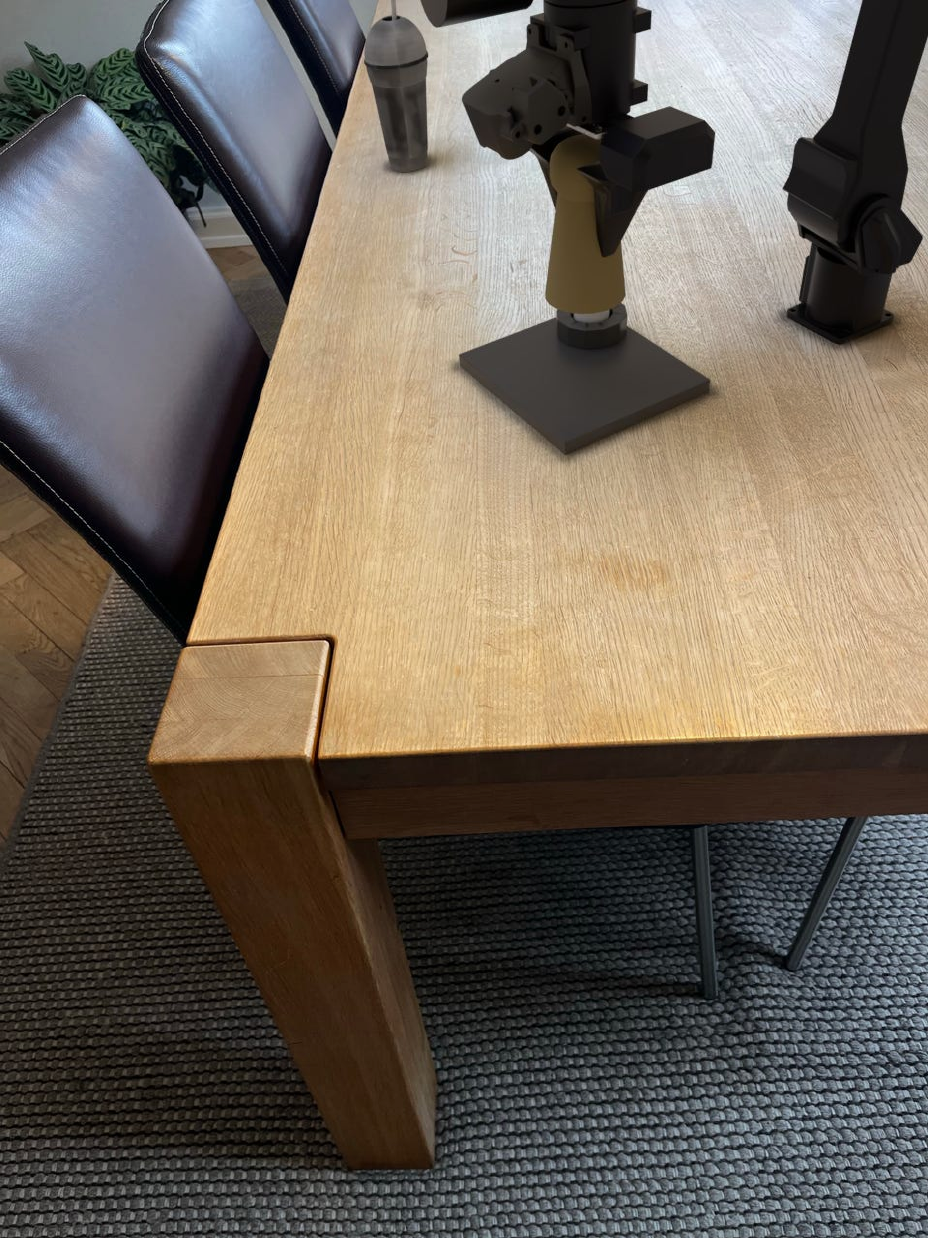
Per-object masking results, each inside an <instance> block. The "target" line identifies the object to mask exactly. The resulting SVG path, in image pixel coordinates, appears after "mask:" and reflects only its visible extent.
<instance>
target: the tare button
mask: <svg viewBox="0 0 928 1238" xmlns="http://www.w3.org/2000/svg"><path fill="white" fill-rule="evenodd" d="M608 318H609V310H607V311H603V312H599V313H594V314H575V313H574V319H575V320H576V321H579V322H584V323H598V322H601V321H604V320H606V319H608Z"/></svg>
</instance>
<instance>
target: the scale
mask: <svg viewBox="0 0 928 1238" xmlns="http://www.w3.org/2000/svg"><path fill="white" fill-rule="evenodd" d="M458 360H459V366H460V368H462V369H463V370H464V371H465V372H466V373H468V374H469V376H471V377H472V378H474V380H476V381H477V382H479V384H480V385H481V386H483V387H484V388H485V389H486V390H488V392H490V393H491V394H492V395H494V396H495V397H496V398H497V399H498V400H500V402H502V404H504V405H505V406H506V407H507V408H509V409H510V410H511V411H512V412H514V413H515V414H516V415H517V416H518V417H519V418H521V419H522V420H523V421H524V422H526V424H528V425H529V426H530V427H531V428H533V429H534V430H535V431H536V432H537V433H539V434H540V435H541V436H542V437H543V438H544V439H545V440H546V441H548V442H549V443H550V444H551V445H553V446H554V447H555V448H556V449H557V450H559V451H560V452H561V453H562V454H563V455H564V456H566V455H568V454H571V453H573V452H575V451H577V450H580V449H582V448H584V447H587V446H590V445H592V444H594V443H596V442H598V441H600V440H603V439H605V438H607V437H610V436H612V435H614V434H617V433H619V432H621V431H623V430H626V429H628V428H630V427H632V426H635V425H637V424H640V423H642V422H644V421H646V420H649V419H651V418H653V417H656V416H658V415H660V414H663V413H664V412H667V411H670V410H672V409H674V408H676V407H678V406H680V405H683V404H685V403H688V402H689V401H692V400H694V399H696V398H699V397H701V396H703V395H705V394H708V393H709V392H710V386H711V379H710V378H708V377H707V376H705V375H704V374H702V373H701V372H699V371H697V370H696V369H695V368H693V367H692V366H690V365H688V364H687V363H685V362H684V361H682V360H681V359H680V358H678V357H676V356H675V355H673V354H671V353H670V352H669V351H667V350H665V349H664V348H663V347H661V346H659V345H658V344H656V343H655V342H653V341H651V340H650V339H649V338H647V337H646V336H644V335H643V334H641V333H639V332H638V331H636V330H635V329H633V328H632V327H630V326H629V325H628V311H627V307H626V305H625V304H624V303H623V302H621V303H620V304H619V305H617V306H616V307H614V308H612V309H609V318H608V319H606V320H604V321H601V322H598V323H584V322H579V321H576V320H575V319H574V313H567V312H564V311H561V310H558V309H556V311H555V317H551V318H550V319H548V320H544V321H542V322H539V323H537V324H534V325H532V326H528V327H527V328H524V329H521V330H519V331H515V332H514V333H511V334H508V335H506V336H503V337H501V338H498V339H495V340H493V341H490V342H487V343H485V344H483V345H480V346H477V347H475V348H471V349H470V350H467V351H464V352H462V353H459V354H458Z"/></svg>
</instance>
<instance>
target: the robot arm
mask: <svg viewBox="0 0 928 1238" xmlns="http://www.w3.org/2000/svg"><path fill="white" fill-rule="evenodd" d="M542 1H543V4H542V5H543V6H542V7H543V8H542V9H543V12H540V13H536V14H534V15H533V14H532V15H530V16H529V23H528V24H527V25H526V29H525V31H526V44H525V49H523V50H522V51H521V52H518V53H517V54H516V55H514V56H512V57H510V58H508V59H505V60H504V61H503V62H501V63H500V64H499V65H498V66H496V67H495V68H493V69H490V70H489V72H488V74H486V75H485V76H483V77H482V78H481V79H480V80H478V81H477V82H476V83H474V84H473V85H472V86H471V87H469V88H468V89H467V90H466V91H464V93H463V94H462V96H461V103H462V104H463V108H464V109H465V112H466V115H467V117H468V119H469V122H470V124H471V126H472V130H473V132H474V134H475V136H476V137H475V138H476V140H477V141H478V144H479V146H480V147H482V148H484V149H486V148H487V149H490V151H493V152H495V153H497V154H498V155H499V156H500V158H502V159H504V160H508V161H514V160H516V159H519V158H522V157H523V156H524V155H526V154H527V153H529V152H530V153H531V154H532V155H534V156H535V158H536V159H537V161H538V164H539V166H540V169H541V171H542V172H541V173H542V175H543V177H544V181H545V183H546V187H547V188H548V192H549V195H550V198H551V201H552V204H553V208H554V211H555V210H556V202H557V194H558V193H557V191H556V190H555V188H554V187H553V186H552V183H551V179H550V159H551V155H552V153H553V151H554V149H555V147H556V146H557V145H558V144H559V143H560V142H562V141H563V140H565V139H567V138H569V137H572V136H576V135H581V134H585V135H588V136H590V137H592V138H594V139H600V140H602V141H601V143H600V161H598V162H595V163H592V164H588V165H585V166H582V167H579V168H577V171H578V172H579V173H580V174H581V175H582V176H583V177H584V178H585V179H586V180H587V181H588V182H589V183H590V184H591V185H592V186H593V188H594V200H595V215H596V230H597V239H598V243H599V247H600V251H601V255H602V257H604V258H605V257H608V256H610V255H613V254H614V253H615V252H616V250H617V248H618V246H619V244H620V242H621V243H622V240H623V238H624V236H625V235H626V233H627V231H628V229H629V227H630V225H631V223H632V221H633V219H634V217H635V215H636V213H637V211H638V209H639V208H640V205H641V204H642V202H643V200H644V198H645V197H646V195H647V194H648V192H649V191H650V190H653V189H657V188H659V187H662V186H665V185H668V184H670V183H673V182H676V181H680V180H682V179H685V178H688V177H691V176H694V175H696V174H699V173H702V172H705V171H708V170H711V169H712V167H713V162H714V151H715V143H716V142H715V141H716V131H715V130H714V129H713V128H712V127H711V125H710V124H709V123H708V122H707V121H706V120H705V119H703V118H701V117H698V116H696V115H693V114H691V113H688V112H685V111H683V110H681V109H678V108H675V107H673V106H671V105H669V106H666V107H662V108H659V109H656V110H653V111H649V112H647V113H644V114H640V115H637V116H632V115H630V114H629V113H630V112H631V109H632V106H637V105H639V104H643V103H646V102H648V99H649V96H648V95H649V83H647V82H644V81H641V80H638V79H636V77H635V76H636V53H637V34H639V33H643V32H646V31H650V30H651V29H652V16H653V12H652V11H653V10H651V9H648V8H645V7H642V6H638V0H542ZM533 2H534V0H420V4H421V6H422V9H423V12H424V14H425V16H426V18H427V20H428V21H429V23H430V24H431V25H432V26H433V27H434V28H436V29H437V28H443V27H449V26H452V25H457V24H462V23H467V22H472V21H477V20H481V19H487V18H492V17H496V16H501V15H506V14H510V13H514V12H519V11H520V12H521V11H524V10H528V8H530V7H531V6H532V4H533ZM927 42H928V0H861V4H860V8H859V12H858V15H857V20H856V24H855V27H854V30H853V34H852V38H851V43H850V46H849V49H848V54H847V57H846V61H845V65H844V70H843V74H842V77H841V80H840V84H839V88H838V91H837V96H836V101H835V104H834V108H833V110H832V112H831V115H830V117H828V119H827V120H826V121H825V123H824V124H823V125H822V126H820V128H819V130H817V132H816V133H815V134H814V136H813V137H806V136H805V137H804V136H800V137H799V138H798V139H797V140H796V142H795V144H794V147H793V154H792V162H791V167H790V170H789V174H788V177H787V178H786V181H785V182H784V184H783V186H782V190H783V191H784V192H786V193H787V200H786V205H787V206H786V207H787V211H788V212H789V213H790V216H791V218H793V220H794V221H795V222H796V225H797V231H798V236H799V237H800V238H802V239H803V240H807V241H808V242H810V243H811V244H810V249H809V254H808V255H807V256H806V257H805V259H804V260H805V261H804V266H803V273H802V277H801V283H800V288H799V295H798V301H799V302H800V303H798V304H796V305H793V306H791V307H789V308H787V309H786V314H785V315H786V316H787V317H788V318H790V319H792V320H793V321H794V322H797V323H799V324H800V325H802V326H804V327H806V328H808V329H809V330H811V331H812V332H813V331H814V332H816V333H817V334H819V335H820V336H823V337H824V338H826V339H828V340H830V341H832V342H833V343H835V344H844V343H847V342H849V341H851V340H854V339H856V338H858V337H860V336H862V335H864V334H867V333H869V332H871V331H874V330H876V329H879V328H881V327H884V326H886V325H887V324H890V323H892V322H893V321H894V319H895V314H894V313H893V312H891V311H889V310H887V309H885V306H886V302H887V299H888V294H889V290H890V286H891V281H892V278H893V274H896V273H897V269H898V268H900V267H902V266H904V265H909V264H910V263H911V262H912V261H913V259H914V257H915V256H916V253H917V251H918V250H919V247H920V246H921V244H922V242H923V239H924V236H923V234H922V233H921V232H920V230H919V229H918V228H917V227H916V226H915V224H914V223H913V222H912V221H911V220H910V218H909V216H908V215H906V214H905V212H904V211H903V210H902V205H903V201H904V195H905V190H906V184H907V180H908V174H909V164H908V157H907V151H906V145H905V144H906V143H905V138H904V133H903V123H904V122H903V121H904V116H905V113H906V110H907V107H908V103H909V100H910V97H911V93H912V91H913V87H914V84H915V80H916V77H917V74H918V71H919V67H920V64H921V61H922V58H923V55H924V51H925V48H926V44H927Z"/></svg>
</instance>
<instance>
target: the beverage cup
mask: <svg viewBox="0 0 928 1238" xmlns="http://www.w3.org/2000/svg"><path fill="white" fill-rule="evenodd" d="M390 6H391V7H390V8H391V14H390V15H386V16H382V18H380V19H378V20H377V21H376V22H375V23H374V24H373V25H372V26H371V28H370V29H369V31H368V33H367V36H366V39H365V44H364V59H363V64H364V65H365V68H366V73H367V76H368V79H369V82H370V84H371V86H372V91H373V95H374V100H375V105H376V110H377V114H378V119H379V123H380V129H381V132H382V138H383V141H384V145H385V151H386V154H387V158H388V161H389V166H390V168H391V169H392V170H393V171H395V172H399V173H408V172H410V173H411V172H415V171H419V170H422V169H424V168H425V167H427V165H428V164H429V163H428V162H429V160H428V151H429V138H428V137H429V136H428V105H427V103H428V102H427V99H428V98H427V75H428V58H429V52H428V49H427V45H426V42H425V41H426V40H425V38H424V36H423V34H422V32H421V31H420V29H419V28H418V26H417V25H416V24H414V22H413V21H411V20H410V19H409V18H407V17H405V16H401V15H398V14H397V0H390Z"/></svg>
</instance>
